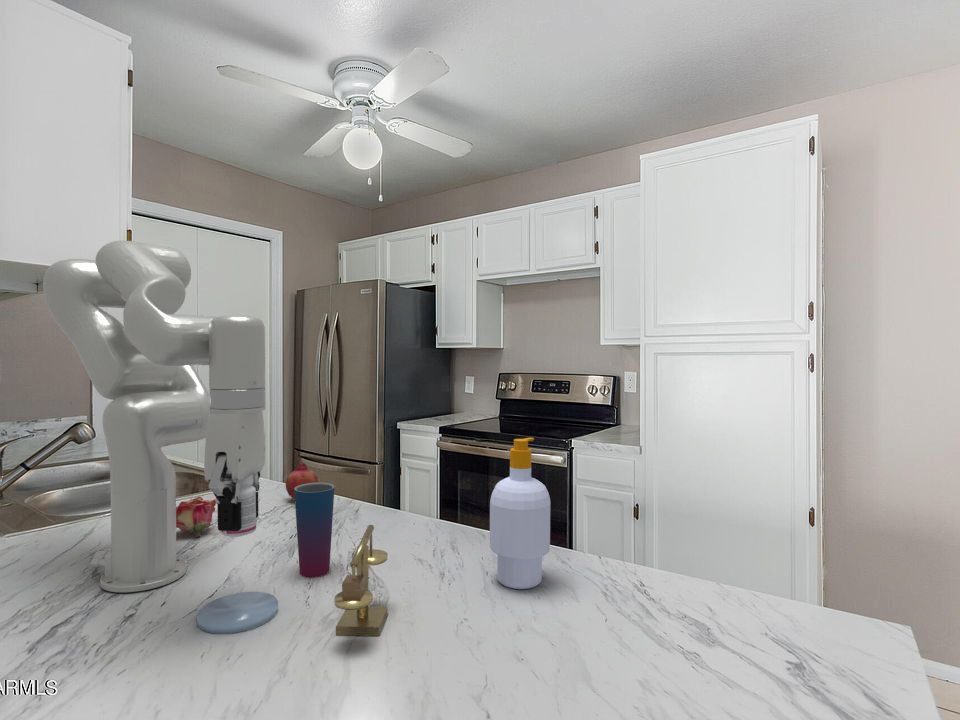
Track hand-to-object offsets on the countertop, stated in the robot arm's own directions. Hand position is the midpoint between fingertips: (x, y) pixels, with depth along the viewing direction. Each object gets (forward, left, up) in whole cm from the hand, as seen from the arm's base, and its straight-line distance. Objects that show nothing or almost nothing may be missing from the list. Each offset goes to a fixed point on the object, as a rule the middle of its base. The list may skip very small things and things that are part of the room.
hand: (238, 522), depth 82 cm
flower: (-26, +34, -14) cm, 45 cm away
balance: (+19, -2, -14) cm, 23 cm away
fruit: (-12, +60, -14) cm, 63 cm away
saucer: (0, 0, -14) cm, 14 cm away
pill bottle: (0, 0, -2) cm, 2 cm away
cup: (+6, +16, -14) cm, 22 cm away
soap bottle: (+42, +14, -14) cm, 46 cm away
